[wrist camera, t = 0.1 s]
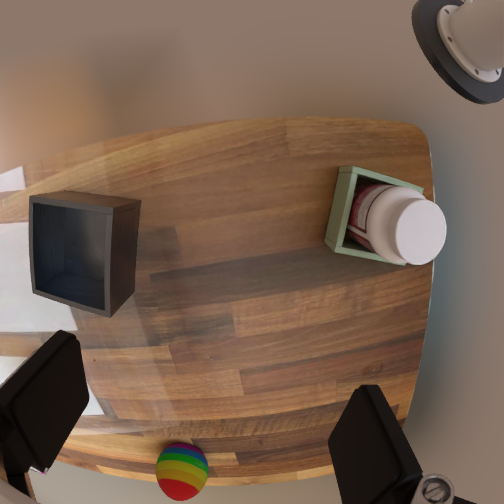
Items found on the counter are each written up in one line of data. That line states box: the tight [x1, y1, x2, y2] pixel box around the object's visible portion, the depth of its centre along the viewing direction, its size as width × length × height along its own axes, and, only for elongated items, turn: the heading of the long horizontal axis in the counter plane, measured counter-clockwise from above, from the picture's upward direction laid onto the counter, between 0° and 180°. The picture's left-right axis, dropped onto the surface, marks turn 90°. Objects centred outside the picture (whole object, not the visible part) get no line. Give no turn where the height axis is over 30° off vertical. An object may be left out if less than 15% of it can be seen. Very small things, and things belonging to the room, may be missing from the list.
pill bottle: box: [346, 184, 446, 265], centre depth 23 cm, size 6×6×11 cm
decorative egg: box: [156, 443, 208, 501], centre depth 33 cm, size 8×8×10 cm
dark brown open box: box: [29, 190, 141, 318], centre depth 26 cm, size 10×10×6 cm
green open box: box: [324, 166, 424, 266], centre depth 26 cm, size 8×8×4 cm
